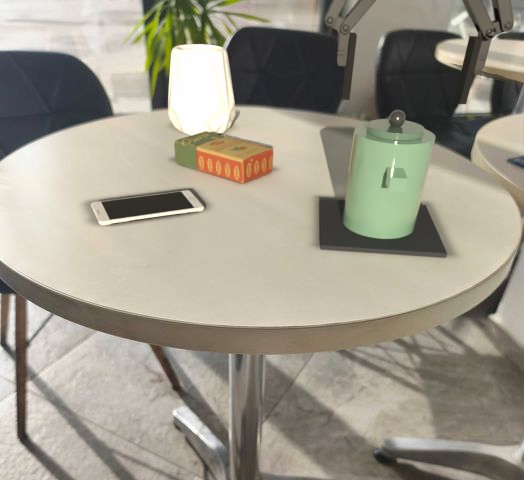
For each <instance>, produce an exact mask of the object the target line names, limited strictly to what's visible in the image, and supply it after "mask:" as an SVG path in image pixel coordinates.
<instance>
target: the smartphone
mask: <svg viewBox="0 0 524 480" xmlns="http://www.w3.org/2000/svg"><path fill="white" fill-rule="evenodd" d="M90 207H91V209H92V210H93V213H94V216H95V218H96V220H97V222H98V224H99V225H100V226H110V225H116V224H124V223H131V222H137V221H145V220H151V219H159V218H165V217H173V216H179V215H185V214H193V213H199V212H203V211H204V210H205V206H204V205H203V203H201V202H200V200H199V199H198V198H197V197H196V196H195V195H194V193H193V192H192V191H191V190H189V189H187V190H178V191H177V190H176V191H170V192H162V193H154V194H146V195H139V196H132V197H124V198H115V199H107V200H99V201H93V202H91V204H90Z"/></svg>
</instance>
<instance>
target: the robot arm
mask: <svg viewBox="0 0 524 480" xmlns="http://www.w3.org/2000/svg"><path fill="white" fill-rule="evenodd" d="M376 1H377V0H357V1H356V2H355V4H354V5H353V7H351V9H350V10H349V11H348V12H347V14H346V15H345V16H344V17H342V16H340V14H341V12H342V10H343V9H344V6H345V4H346V2H347V0H332V1H331V2H330V4H329V6H328V8H327V10H326V12H325V14H324V17H323V18H324V19H323V20H324V24H325V25H326V27H328V28H331V29H333V30H335V31H337V34H338V37H337V38H338V39H337V50H336V52H337V53H336V64H337V66H338V67H344V75H343V83H342V94H341V96H342V100H343V101H350V99H351V91H352V83H353V73H354V66H355V65H354V64H355V57H356V56H355V55H356V48H357V39H358V34H357V33H356V32H351V31H352V30H353V29H354V28H355V26H356V25H357V24H358V23H359V22H360V20H361V19H362V18H363V17H364V16H365V15H366V13H367V12H368V11H369V10H370V9H371V8H372V6H373V5H374V4H375V2H376ZM462 3H463V5H464V7H465V9H466V11H467V13H468V15H469V18H470V19H471V21H472V23H473V26H474V28H475V30H476V32H477V35H469V36H468V40H467V44H466V49H465V53H464V57H463V61H462V65H461V69H460V70H461V71H460V74H459V79H458V83H457V87H456V92H455V95H454V100H455V101H456V102H457V103H458V104H459V105H467V103H468V99H469V95H470V91H471V87H472V84H473V79H474V75H475V72H483V70H484V68H485V65H486V63H487V62H486V61H487V57H488V54H489V51H490V47H491V44H492V40H493V39H495V37H496V36H497V35H500V34H502V33H508V32H510V31H512V30H513V28H514V25H515V21H514V14H513V7H512V0H491V5H492V11H493V18H494V20H492V19H491V17H490V15H489V13H488V10H487V8H486V6H485V4H484V1H483V0H462Z"/></svg>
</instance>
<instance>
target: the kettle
mask: <svg viewBox="0 0 524 480" xmlns="http://www.w3.org/2000/svg"><path fill="white" fill-rule="evenodd" d="M406 117H407V116H406V113H405V112H404V111H403V110H400V109H395V110H393V111H392V112H391V113H390V114H389V116H388V118H379V119H372V120H370V121H368V122H367V123H362V124H360V125H357V126H356V127H355V128H354V130H353V136H352V144H351V151H350V158H349V159H350V160H349V166H348V174H347V181H346V188H345V196H344V200H345V202H344V209H343V216H342V222H343V224H344V226H345V227H346V228H348V229H349V230H351V231H353V232H355V233H357V234H360V235H363V236H367V237H371V238H379V239H395V238H401V237H405V236H407V235H409V234H411V233H412V232H413V230H414V228H415V224H416V219H417V215H418V211H419V207H420V205H421V202H422V197H423V194H424V190H425V189H424V188H425V185H426V180H427V176H428V172H429V168H430V164H431V159H432V155H433V150H434V147H435V143H436V138H437V137H436V135H435V134H434V133H433V132H432V131H430V130H428V129H426V128H425V127H424V126H423V125H422V124H419V123H418V122H414V121H410V120H406Z"/></svg>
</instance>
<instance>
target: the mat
mask: <svg viewBox="0 0 524 480" xmlns="http://www.w3.org/2000/svg"><path fill="white" fill-rule="evenodd" d="M344 202H345V199H338V198H337V199H336V198H335V199H334V198H319V232H320V233H319V235H320V236H319V238H320V239H319V241H320V245H319V246H320V250H325V251H326V250H327V251H341V252H356V253H369V254H385V255H398V256H399V255H401V256H415V257H428V258H429V257H431V258H444V259H445V258H447V257H448V252H447V249H446V247H445V245H444V243H443V240H442V238H441V236H440V234H439V231H438V229H437V227H436V225H435V223H434V220H433V218H432V216H431V214H430V211H429V209H428V207H427V205H426V204H420V207H419V211H418V215H417V219H416V224H415V228H414V230H413V232H412V233H411V234H409V235H407V236H405V237H401V238H395V239H379V238H371V237H367V236H363V235H360V234H357V233H355V232H353V231H351V230H349V229H348V228H346V227H345V226H344V224H343V222H342V216H343V209H344Z"/></svg>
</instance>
